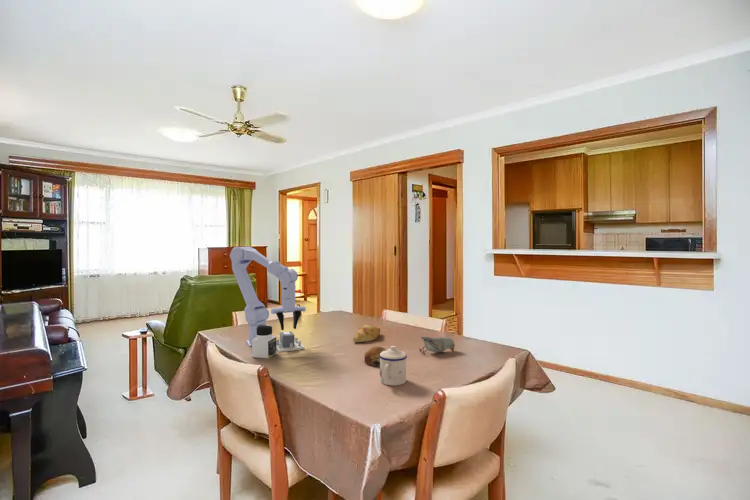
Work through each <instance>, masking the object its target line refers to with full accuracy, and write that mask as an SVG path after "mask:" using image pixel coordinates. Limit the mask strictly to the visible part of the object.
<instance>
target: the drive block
mask: <svg viewBox="0 0 750 500" xmlns="http://www.w3.org/2000/svg"><path fill="white" fill-rule="evenodd" d="M295 338H296V337H295V334H294V333H293V331H290V330H289V331H283V332H282V331H280V332H279V342H280V343H282V348H286V347H290V343H293V347H295Z"/></svg>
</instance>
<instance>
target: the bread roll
mask: <svg viewBox="0 0 750 500" xmlns="http://www.w3.org/2000/svg"><path fill="white" fill-rule="evenodd" d="M386 350H388V349H387V348H385V347H383V346H380V345H375V346H371V347H369V349H368V350H366V351H365V353H364V363H365V365H367V366H371V367H380V357H379V355H380V353H381V352H383V351H386Z"/></svg>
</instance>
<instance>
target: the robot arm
mask: <svg viewBox="0 0 750 500" xmlns="http://www.w3.org/2000/svg"><path fill="white" fill-rule="evenodd" d="M229 258H230V260H231V261H230V262H231V269H232V273H233V275H234V277H235V280H236V282H237V285H238V287H239V289H240V292H241V294H242V298H243V300H244V302H245V304H246V306H245V308H244V310H243V311H244V316H245V317H244V318H245V321H246V323H247V325H248V339H247V340H246V343H247V344H248V347H252V340H253V339H255V338H257V327H258V326H260V325H267V320H269V317H270V314H271V315H276V317H277V319H278V322H279V325H280V330H281V331H284V330H285V326H284V325H285V323H284V321H285V315H284V314H287V313H288V314H289V313H292V315H293V317H292V318H293V320H292V321H293V325H292V327H293V329H294V330H297V325H298V322H299V319H300V317H301V315H302V312H306V309H307V307H306V306H304V305H303V306H296V281H297V280H298V272H297V271H296V270H295V269H293V268H290V269H289V267H288V266H285V265H283V264H282V263H281V261H279V260H273V261H271V259H269V258H267V257H266V256H265V255H263V254H261V253H260V252H259V251H258V250H257V249H255V248H253V247H252V246H235V247H233V248H232V249H231V251H230V254H229ZM252 261H254V262H256V263H258V264H259V265H262V266H263V267H264V268H266V269H267V272H268V273H269V274H271V275H272V276H274V277H275V278H277V279H278V281H279V282H280V287H281V307H276V308H270V312H269V310H268V309H267V308H266V307H265V304H264V303H263V302H262V301H260V300H259V298H258V296H257V292H256V291H255V288H254V286H253V283H252V281H251V278H250V276H249V274H248V270H247V267H248V266H249V264H251V262H252Z"/></svg>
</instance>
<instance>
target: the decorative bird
mask: <svg viewBox="0 0 750 500" xmlns="http://www.w3.org/2000/svg"><path fill="white" fill-rule="evenodd" d="M420 339H421V340H422V341H423V345H424V346H422V348H420V349H419V353H422V354H423V355H424V356H426V352H427V351H429V352H433V353H443V352H445V351H446V350H450V351H455V347H456V345H455V341H454V339H453V338H451V337H448V336H447V337H442V336H441V337H440V336H433V337H432V336H431V337H430V336H420ZM424 348H426V350H424Z"/></svg>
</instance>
